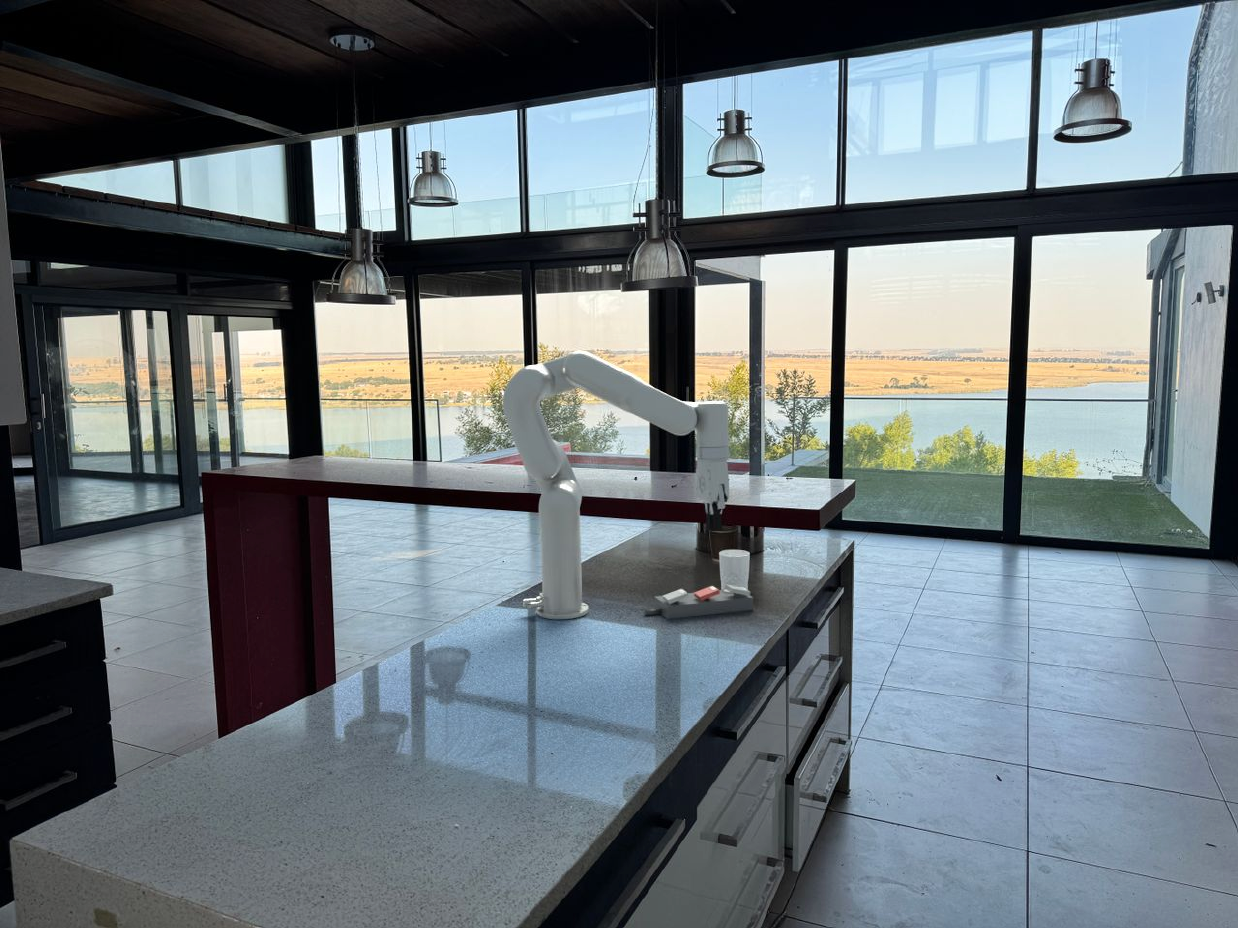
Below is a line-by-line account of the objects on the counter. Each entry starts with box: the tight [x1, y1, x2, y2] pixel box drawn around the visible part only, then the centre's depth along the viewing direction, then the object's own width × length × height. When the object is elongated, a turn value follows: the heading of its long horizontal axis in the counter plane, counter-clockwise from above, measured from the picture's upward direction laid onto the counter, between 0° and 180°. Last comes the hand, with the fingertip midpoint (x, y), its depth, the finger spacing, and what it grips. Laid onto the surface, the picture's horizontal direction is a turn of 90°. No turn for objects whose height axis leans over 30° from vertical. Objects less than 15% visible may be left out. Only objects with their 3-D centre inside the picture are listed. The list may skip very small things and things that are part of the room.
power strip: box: [643, 589, 754, 620], centre depth 207 cm, size 26×9×4 cm, turn 107°
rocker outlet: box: [725, 584, 751, 596], centre depth 208 cm, size 5×4×1 cm
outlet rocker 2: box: [693, 585, 720, 601], centre depth 206 cm, size 5×4×1 cm
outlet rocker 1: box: [662, 588, 689, 604], centre depth 203 cm, size 5×4×1 cm
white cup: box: [718, 549, 751, 591], centre depth 224 cm, size 8×8×10 cm
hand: (714, 529), depth 204 cm, fingers closed
